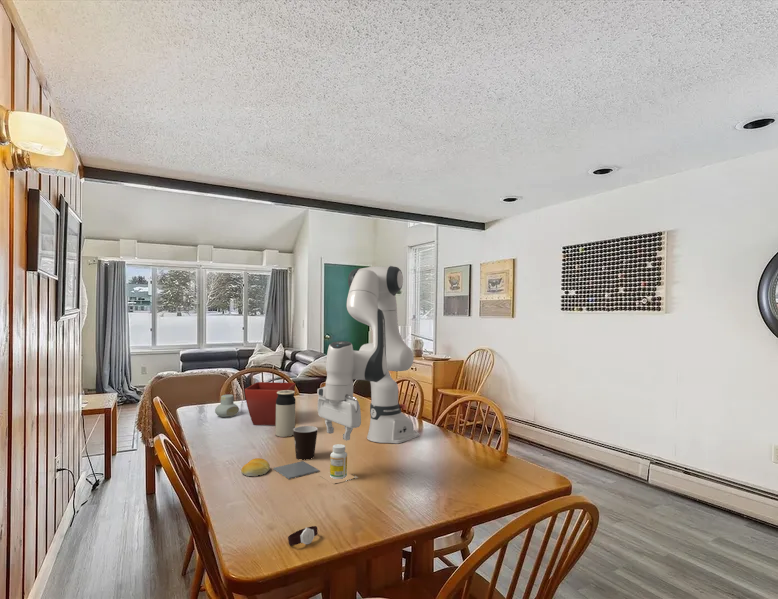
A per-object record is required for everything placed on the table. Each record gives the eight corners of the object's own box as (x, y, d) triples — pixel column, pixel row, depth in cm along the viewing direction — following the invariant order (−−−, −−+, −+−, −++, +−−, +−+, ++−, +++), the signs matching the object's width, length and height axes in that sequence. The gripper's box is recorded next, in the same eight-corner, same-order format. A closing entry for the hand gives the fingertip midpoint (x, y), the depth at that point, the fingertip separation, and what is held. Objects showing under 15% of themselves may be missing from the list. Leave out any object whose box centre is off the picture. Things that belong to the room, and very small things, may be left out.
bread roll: (237, 476, 144) (237, 464, 144) (250, 467, 153) (250, 455, 153) (261, 478, 143) (261, 465, 143) (273, 468, 152) (273, 456, 152)
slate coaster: (303, 462, 157) (303, 461, 157) (319, 471, 149) (319, 470, 149) (273, 469, 150) (273, 467, 150) (288, 479, 142) (288, 477, 142)
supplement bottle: (338, 480, 141) (338, 449, 141) (326, 476, 144) (326, 446, 145) (350, 476, 145) (350, 445, 145) (338, 471, 149) (339, 442, 149)
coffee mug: (312, 462, 158) (312, 433, 158) (288, 460, 160) (289, 431, 160) (323, 451, 169) (323, 424, 170) (301, 449, 171) (302, 423, 171)
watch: (295, 551, 101) (295, 535, 101) (282, 544, 104) (283, 528, 104) (322, 538, 107) (322, 523, 107) (309, 531, 110) (309, 516, 110)
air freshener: (222, 419, 214) (223, 398, 215) (211, 417, 219) (212, 396, 219) (241, 415, 224) (242, 394, 224) (230, 412, 228) (231, 392, 228)
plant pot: (286, 427, 201) (286, 389, 202) (243, 427, 202) (243, 389, 202) (295, 417, 221) (296, 382, 221) (256, 416, 221) (256, 382, 221)
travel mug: (292, 437, 187) (293, 393, 187) (273, 437, 187) (273, 393, 187) (296, 432, 195) (297, 390, 195) (278, 431, 195) (278, 389, 195)
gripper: (366, 396, 139) (365, 442, 139) (330, 387, 155) (329, 428, 154) (349, 398, 135) (348, 445, 135) (314, 388, 151) (313, 431, 150)
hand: (338, 436), depth 145 cm, fingers open, 8 cm apart
